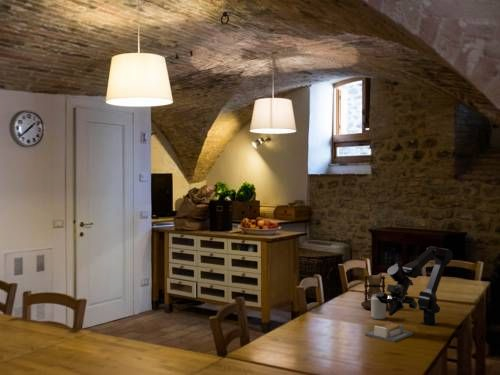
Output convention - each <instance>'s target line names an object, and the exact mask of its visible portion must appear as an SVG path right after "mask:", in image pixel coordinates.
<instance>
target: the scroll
mask: <svg viewBox="0 0 500 375" xmlns="http://www.w3.org/2000/svg"><path fill="white" fill-rule="evenodd" d="M363 278H364V286H363V287H364V293H363V295H364V298H363V299H364V301H362V302H361V307H363V308H364V309H365V310H366V311H368V309H371V297H372V295H373V294H377V293H378V292H382V293H386V292H385V289H386V282H385V280H386V277H385V275H382V272H380V275H379V274H378V275H376V274H375V275H374V274H373V275H371V274H370V272H368V271H367V275H364V277H363ZM381 283H382V284H381ZM381 288H382V289H381ZM387 308H389V303H387V304H386V309H387Z"/></svg>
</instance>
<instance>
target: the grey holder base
mask: <svg viewBox="0 0 500 375" xmlns="http://www.w3.org/2000/svg"><path fill="white" fill-rule="evenodd" d="M389 323H391V321H387V322H386V324H389ZM398 325H399V326H400V327H399V328H396V329H394V330H392V331H389V332H387V328H384V327H382V326H378V325H374V326H373V330H371V331H368V332H366V333H364V335H365V337H369V338H374V339H378V340H382V341H387V342H390V343H391V342H392V343H396V342H398V341H401V340H404V339H406V338H408V337H410V336H412V335H414V331H410V330H404V324H403V323H401V324H398Z"/></svg>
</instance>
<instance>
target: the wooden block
mask: <svg viewBox="0 0 500 375" xmlns="http://www.w3.org/2000/svg"><path fill="white" fill-rule="evenodd" d="M399 325H400V324H398V323H392V322H390V323H389V324H387V323H386V324H384V325H382V326H381V327H384V328H387V332H389V331H392V330H394V329H396V328H399V329H400V326H399Z"/></svg>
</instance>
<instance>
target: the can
mask: <svg viewBox="0 0 500 375" xmlns="http://www.w3.org/2000/svg"><path fill="white" fill-rule="evenodd" d="M376 295H377V294H373V295H372V297H371V299H370V300H371V308H370V315H371V318H372V319H373V320H384V319H386V318H387V308H386V304H384V303H381V302H380V301H379V300H378V298H377V297H376Z"/></svg>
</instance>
